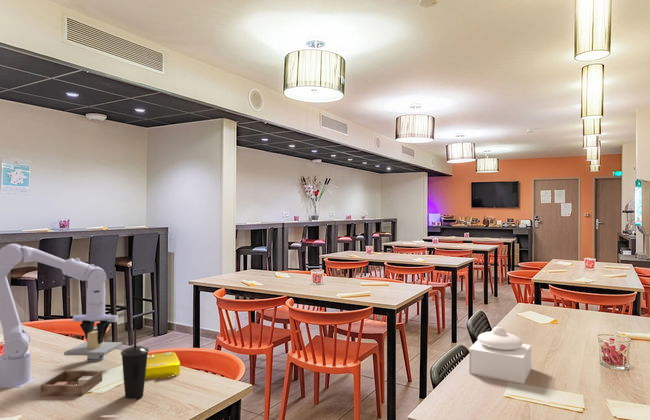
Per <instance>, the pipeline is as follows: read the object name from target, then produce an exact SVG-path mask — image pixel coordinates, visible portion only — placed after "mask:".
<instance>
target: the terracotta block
mask: <svg viewBox="0 0 650 420" xmlns="http://www.w3.org/2000/svg"><path fill="white" fill-rule="evenodd" d="M54 385H68V382H57V383H55V384H54Z"/></svg>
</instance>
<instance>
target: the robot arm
mask: <svg viewBox="0 0 650 420" xmlns="http://www.w3.org/2000/svg"><path fill="white" fill-rule="evenodd" d="M22 260H23V263H28V262H31V263H32V262H37V263H40V264H44V265H47V266H51V267H54V268H57V269H60V270H61V272H62V274H63V275H65V276H68V277H71V278H73V279H76V280H80V281H82V282H84V281H87V289H86V306H85V307H86V310H85V311H86V312H85V313H86V314H75V315H73V316H72V323H76V322H81V323H80V324H79V326H80V328H81V329H82V331H83V333H84V336H85V339H86V340H87V334H88V333H90V332H92V331H93V328H94V326H97V330H98V344H101V343H102V342H103V340H105V335H106V332H107V330H108V328H109V327H110V324H111V322H112V323H116V322H117V323H118V321H119V315H117V314H115V315H114V314H106V281H107V278H108V277H107V274H106V271H105V270H104V269H103V268H101V267H100V266H98V265H97V266H95V264H93V263H91V264H89V263H86V262H84V261H81V258H78V257H76V258H73V257H71V258H68V259H63V258H61V257H59V256H56V255H53V254H50V253H48V252H45V251H42V250H40V249H38V248H35V247H31V246H27V245H23V246H22V245H21V244H18V243H9V244H7V245H4V246H3V247H1V248H0V325H1V328H2V335H3V336H2V337H3V340H4V344H3V349H2V350H3V354H2V355H0V388H13V389H14V388H18V389H19V388H23V387H24V386H26V385H28V384H29V383H31V382H33V381H35V380H36V379H37V377H36V376H35V377H32V376H31V363H32V362H31V359H32V358H31V357H32V356H31V354H32V353H31V351H30V350H29V345H30V342H31V336H30V335H29V333H27V331H25V329H24V325H23V324H22V322H21V320H20V315H19V313H18V309H17V306H16V303H15V300H14V297H13V293H12V291H11V290H12V289H11V287H10V284H9V281H8V274H9V273H10V271H11V270H13V267H15V266H16V265H18V264H19V263H21V262H22ZM96 322H97V323H96ZM95 323H96V325H95Z"/></svg>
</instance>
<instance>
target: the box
mask: <svg viewBox="0 0 650 420" xmlns="http://www.w3.org/2000/svg"><path fill="white" fill-rule="evenodd" d="M82 376H93V377H91V378H90V379H89V380H87V381H86V382H84V383H83V384H81V385H78V379H80V378H81V377H82ZM102 381H103V370H101V371H99V370H85V371H84V370H64V371H62V372H60V373H59V374H58V375H55V376H54V377H52V378H51V379H49V380H47V381H46V382H44V383H42V384H41V385H40V396H41V397H83V396H84V395H85V394H87V393H88V392H89V391H91V390H92V389H93V388H95V387H97V385H99V384H100V383H101V382H102ZM57 382H68V385H54V384H55V383H57ZM76 384H77V385H76Z"/></svg>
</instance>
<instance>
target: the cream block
mask: <svg viewBox="0 0 650 420" xmlns="http://www.w3.org/2000/svg"><path fill="white" fill-rule="evenodd" d="M91 377H93V376H82V377H81V378H80V379H78V385H81V384H83V383H84V382H86V381H87V380H89V379H90V378H91Z"/></svg>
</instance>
